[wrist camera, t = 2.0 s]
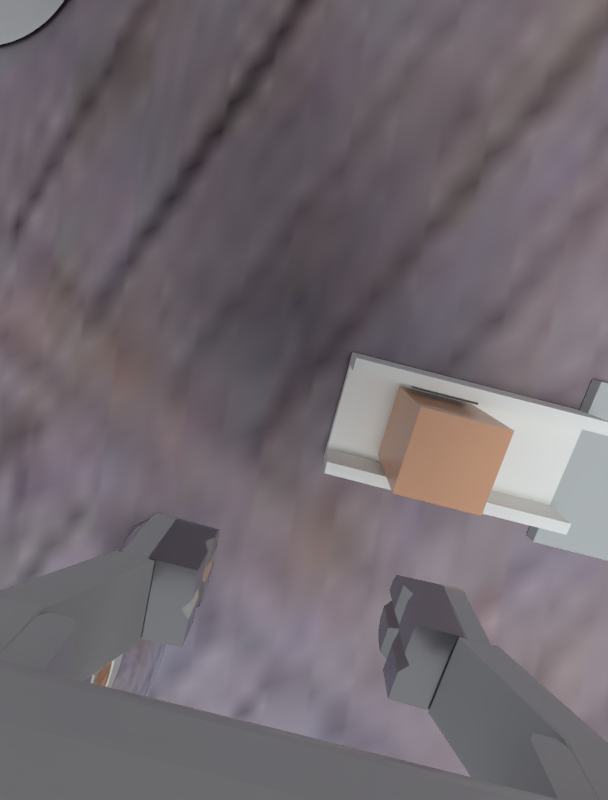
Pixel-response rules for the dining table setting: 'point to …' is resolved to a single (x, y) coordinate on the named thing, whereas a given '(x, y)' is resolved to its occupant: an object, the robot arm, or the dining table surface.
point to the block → (442, 450)
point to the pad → (584, 488)
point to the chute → (529, 418)
